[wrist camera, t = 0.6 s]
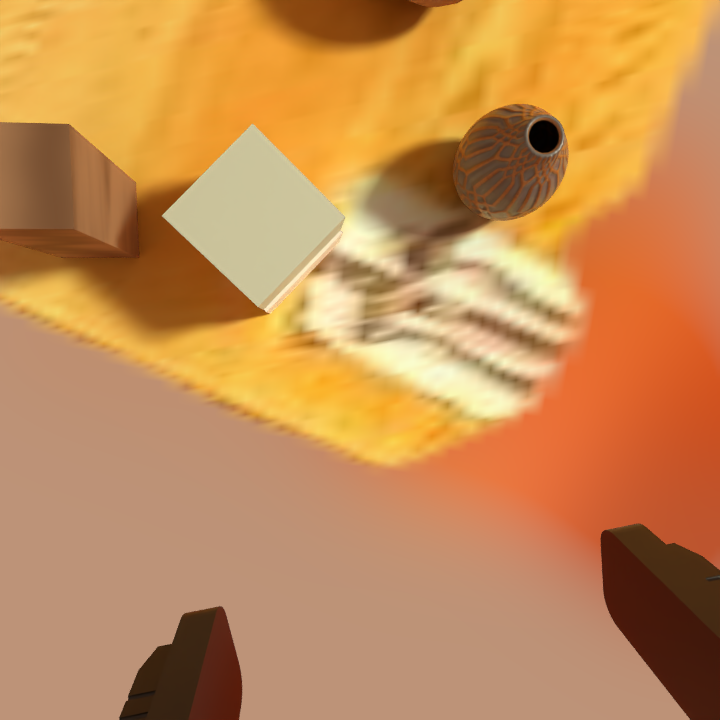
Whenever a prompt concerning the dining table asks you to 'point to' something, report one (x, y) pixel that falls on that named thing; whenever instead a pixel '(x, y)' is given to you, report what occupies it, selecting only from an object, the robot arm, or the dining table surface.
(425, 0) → the onion
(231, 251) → the tower mid
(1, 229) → the column
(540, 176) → the vase
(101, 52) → the dining table surface
